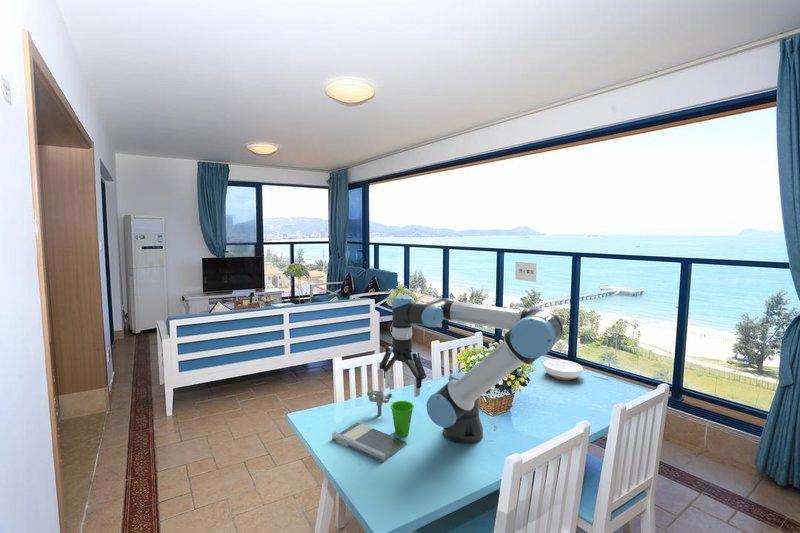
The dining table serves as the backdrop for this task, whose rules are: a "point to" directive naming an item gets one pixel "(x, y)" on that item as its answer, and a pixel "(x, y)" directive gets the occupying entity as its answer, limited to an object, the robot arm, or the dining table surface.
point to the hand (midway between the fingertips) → (402, 391)
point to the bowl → (562, 369)
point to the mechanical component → (379, 398)
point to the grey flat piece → (369, 441)
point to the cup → (402, 416)
